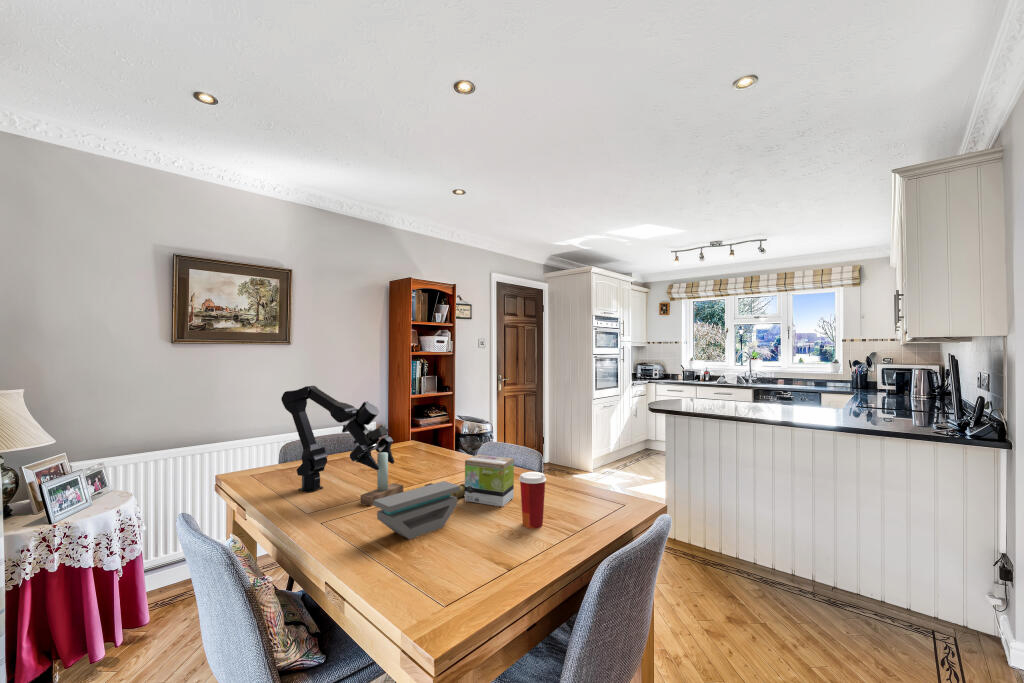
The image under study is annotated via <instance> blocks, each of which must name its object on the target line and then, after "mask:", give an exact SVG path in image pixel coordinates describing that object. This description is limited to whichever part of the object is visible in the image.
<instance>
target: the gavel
mask: <svg viewBox="0 0 1024 683" xmlns="http://www.w3.org/2000/svg"><path fill="white" fill-rule="evenodd" d="M431 484H433V483H432V482H431V483H430V482H429V483H426V484H424V485H423V487H424V486H427V485H431ZM459 486H460V491H458V492H455V493H451V494H450V495H451V496H454V497H457V499H458V498H462V497H465V496H464V495H465V482H463V483H461V484H459Z"/></svg>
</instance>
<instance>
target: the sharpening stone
mask: <svg viewBox="0 0 1024 683" xmlns="http://www.w3.org/2000/svg"><path fill="white" fill-rule="evenodd" d="M458 491H460V484H459V485H458V484H456V483H452V482H448V481H446V480H442V481H440V482H436V483H432V484H431V485H427V486H424V485H423V486H420V487H417V488H413V489H410V490H406V491H403V492H402V493H398V494H394V495H391V496H387V497H384V498H380V499H376V500H374V505H373V506H374V507H376V508H379V509H380V510H377V511H376V512H377V513H376V517H377V518H376V519H377V520H378V521H380V523H382V524H383V525H385V526H386V527H387V528H389V529H390V530H391V531H392V532H394V533H395V532H396V533H395V534H397V533H398V534H397V535H399V536H402V537H403V538H406V539H407V540H410V539H411V540H413V539H416V538H418V537H417V536H419V537H421V536H420V535H422V534H424V535H426V534H425V533H427V534H429V533H428V532H430V533H432V532H434V530H435V531H437V529H438V530H440V529H442V527H443V528H444V526H446V523H447V522H448V521H449V518H450V516H451V515H452V513H454V510H456V509H455V508H456V507H457V505H458V498H457V497H454V496H451V495H450V494H451V493H455V492H458ZM439 528H440V529H439ZM431 531H432V532H431ZM422 536H423V535H422ZM415 537H416V538H415ZM412 538H413V539H412Z"/></svg>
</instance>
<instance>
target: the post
mask: <svg viewBox="0 0 1024 683" xmlns="http://www.w3.org/2000/svg"><path fill="white" fill-rule="evenodd" d="M376 456H377V457H376V458H377V460H376V461H377V462H376V463H377V465H378V467H379V469H378V470H376V471H377V477H376V478H377V479H376V480H377V481H376V482H377V484H376V485H377V488H376V489H377V491H387V490H388V485H389V483H388V482H389V462H388V453H387V452H381V453H380V452H378V453H377V455H376Z"/></svg>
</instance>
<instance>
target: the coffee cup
mask: <svg viewBox="0 0 1024 683" xmlns="http://www.w3.org/2000/svg"><path fill="white" fill-rule="evenodd" d="M518 481H519V483H520V498H521V499H520V502H521V516H522V526H523V527H524V528H527V529H531V530H533V529H540V528H542V527H543V522H544V511H545V510H544V509H545V508H544V507H545V495H546V493H545V492H546V481H547V478H546V475H545V474H544V473H542V472H539V471H527V472H523V473H521V474H520V475H519V478H518Z"/></svg>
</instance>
